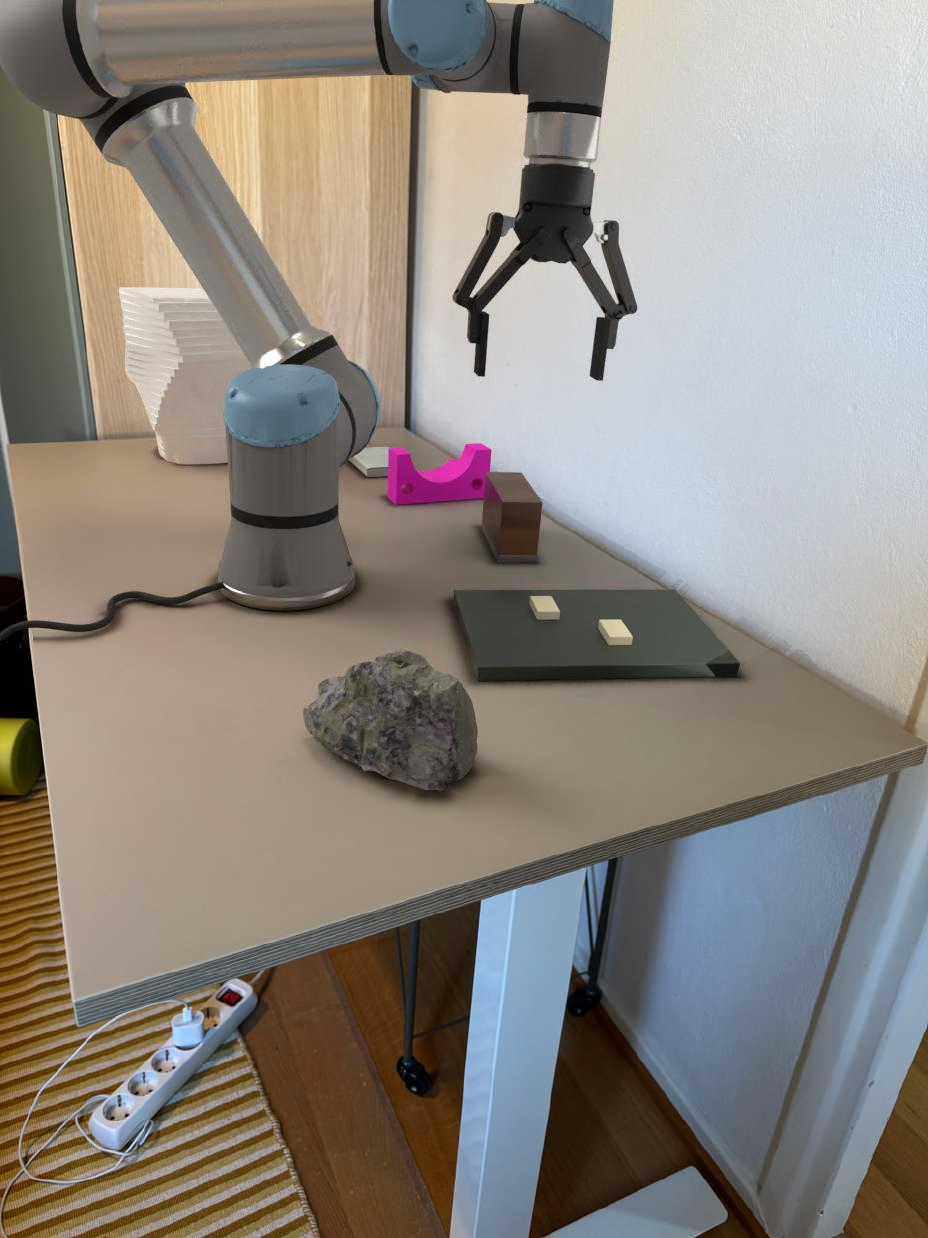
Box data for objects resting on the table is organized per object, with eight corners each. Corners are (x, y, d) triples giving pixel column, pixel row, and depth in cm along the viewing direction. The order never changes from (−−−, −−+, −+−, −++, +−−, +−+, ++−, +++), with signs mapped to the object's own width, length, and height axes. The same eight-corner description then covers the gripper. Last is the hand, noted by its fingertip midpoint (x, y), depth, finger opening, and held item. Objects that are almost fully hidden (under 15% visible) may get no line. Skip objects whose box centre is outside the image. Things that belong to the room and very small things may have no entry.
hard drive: (414, 465, 142) (389, 445, 152) (366, 467, 139) (344, 447, 149) (414, 475, 143) (389, 454, 153) (366, 478, 140) (344, 457, 150)
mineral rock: (296, 735, 72) (293, 626, 68) (407, 702, 78) (411, 599, 73) (373, 822, 62) (375, 701, 58) (494, 777, 68) (503, 664, 64)
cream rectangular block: (559, 619, 92) (560, 611, 91) (537, 620, 91) (537, 611, 91) (550, 604, 95) (551, 595, 95) (529, 604, 95) (529, 595, 94)
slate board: (737, 676, 86) (740, 663, 85) (477, 681, 82) (478, 667, 81) (673, 600, 102) (675, 589, 101) (452, 601, 98) (453, 589, 97)
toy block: (471, 485, 139) (474, 439, 136) (488, 497, 134) (491, 449, 131) (381, 492, 133) (382, 443, 130) (395, 504, 128) (397, 454, 125)
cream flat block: (631, 645, 87) (633, 636, 87) (608, 645, 87) (609, 636, 86) (619, 627, 91) (621, 619, 90) (597, 628, 90) (598, 619, 90)
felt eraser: (536, 562, 110) (542, 502, 107) (497, 562, 109) (502, 501, 106) (516, 528, 122) (521, 472, 118) (481, 527, 121) (485, 471, 118)
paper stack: (129, 444, 149) (112, 283, 138) (284, 436, 160) (280, 287, 149) (146, 478, 132) (128, 299, 121) (319, 467, 143) (316, 301, 132)
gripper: (660, 174, 95) (632, 373, 104) (433, 155, 90) (424, 366, 99) (688, 172, 88) (655, 386, 97) (444, 153, 84) (433, 378, 93)
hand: (538, 376), depth 98 cm, fingers open, 13 cm apart
